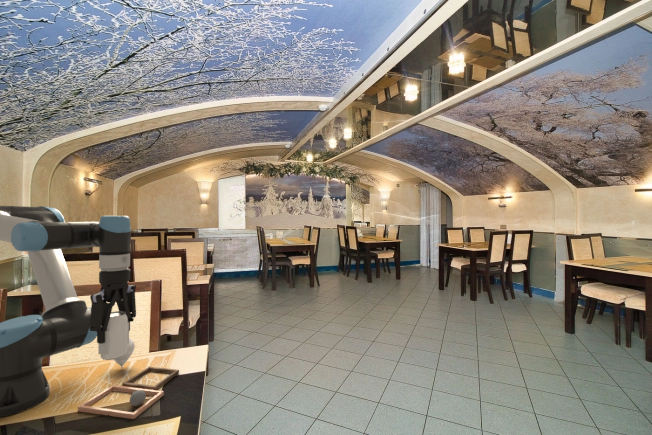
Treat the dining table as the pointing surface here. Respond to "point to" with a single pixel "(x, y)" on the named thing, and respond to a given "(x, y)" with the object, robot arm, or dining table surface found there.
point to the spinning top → (130, 349)
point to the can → (117, 335)
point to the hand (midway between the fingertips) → (114, 348)
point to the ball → (137, 397)
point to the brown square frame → (153, 369)
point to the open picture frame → (117, 413)
